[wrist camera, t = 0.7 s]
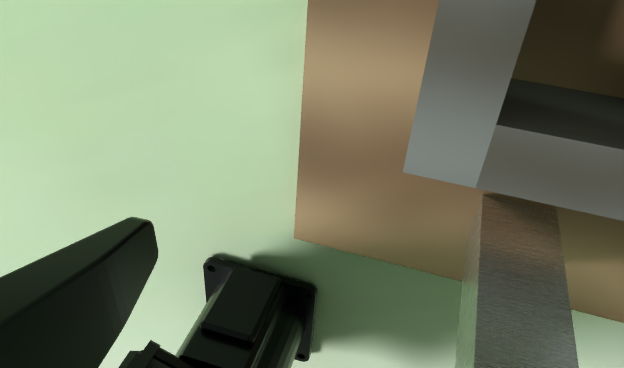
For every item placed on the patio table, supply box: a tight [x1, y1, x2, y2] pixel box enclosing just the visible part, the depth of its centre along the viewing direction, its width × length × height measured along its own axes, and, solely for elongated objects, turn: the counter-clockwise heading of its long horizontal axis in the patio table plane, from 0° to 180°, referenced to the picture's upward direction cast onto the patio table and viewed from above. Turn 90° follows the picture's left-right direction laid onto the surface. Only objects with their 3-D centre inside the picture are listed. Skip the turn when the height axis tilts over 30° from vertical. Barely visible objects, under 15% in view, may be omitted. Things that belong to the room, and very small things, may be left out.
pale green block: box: [455, 194, 579, 368], centre depth 17 cm, size 6×3×10 cm, turn 176°
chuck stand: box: [294, 0, 624, 323], centre depth 15 cm, size 23×18×4 cm
